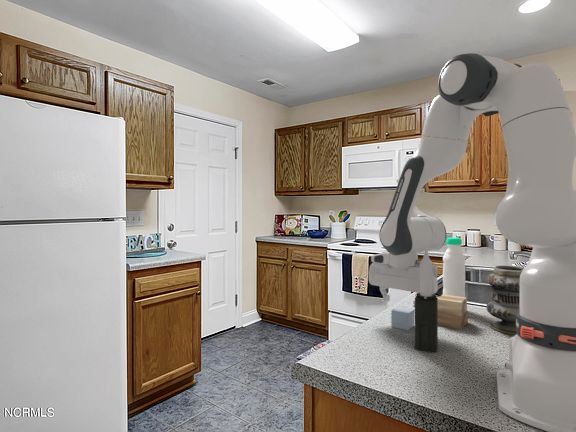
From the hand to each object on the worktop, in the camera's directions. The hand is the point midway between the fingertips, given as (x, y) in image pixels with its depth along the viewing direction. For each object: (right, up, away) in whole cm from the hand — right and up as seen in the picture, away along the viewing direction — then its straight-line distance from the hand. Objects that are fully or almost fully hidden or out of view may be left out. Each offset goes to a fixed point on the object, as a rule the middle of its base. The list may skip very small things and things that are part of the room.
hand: (401, 304), depth 104 cm
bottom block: (+16, -7, +2) cm, 17 cm away
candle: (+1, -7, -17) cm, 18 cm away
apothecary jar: (+30, -7, -4) cm, 31 cm away
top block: (+16, -3, +2) cm, 16 cm away
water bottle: (+23, -6, +15) cm, 29 cm away
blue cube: (0, -7, 0) cm, 7 cm away
